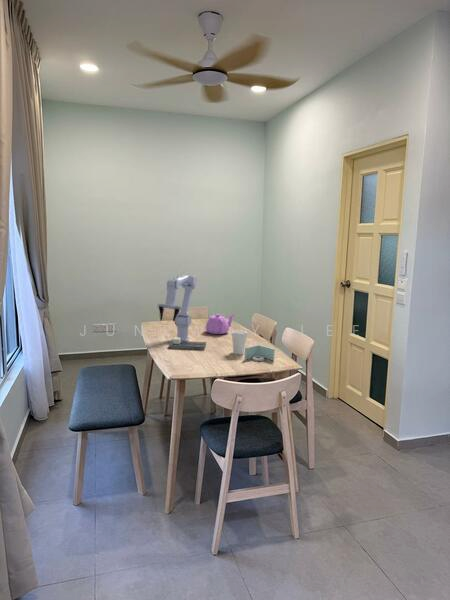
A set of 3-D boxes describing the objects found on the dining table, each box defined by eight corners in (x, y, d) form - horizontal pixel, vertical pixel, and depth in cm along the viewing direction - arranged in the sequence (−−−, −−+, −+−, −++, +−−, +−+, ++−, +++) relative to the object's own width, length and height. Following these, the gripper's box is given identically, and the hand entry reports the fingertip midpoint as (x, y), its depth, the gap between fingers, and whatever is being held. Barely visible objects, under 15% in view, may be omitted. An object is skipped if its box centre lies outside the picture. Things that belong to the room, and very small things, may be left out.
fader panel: (172, 343, 264) (172, 340, 264) (206, 345, 264) (206, 342, 263) (168, 348, 253) (168, 345, 252) (204, 350, 252) (204, 346, 252)
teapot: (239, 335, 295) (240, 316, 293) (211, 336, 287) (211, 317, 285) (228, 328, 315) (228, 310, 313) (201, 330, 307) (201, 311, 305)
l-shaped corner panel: (244, 360, 235) (244, 347, 234) (258, 356, 243) (258, 344, 242) (260, 365, 227) (261, 352, 226) (274, 361, 235) (274, 348, 234)
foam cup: (232, 354, 244) (233, 333, 242) (229, 350, 253) (230, 330, 251) (247, 354, 246) (248, 333, 244) (244, 350, 255) (245, 329, 253)
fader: (174, 341, 261) (174, 337, 260) (180, 342, 260) (180, 337, 260) (173, 343, 256) (173, 339, 255) (179, 344, 256) (179, 339, 255)
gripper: (158, 295, 249) (154, 317, 246) (181, 298, 248) (178, 320, 246) (160, 298, 256) (156, 319, 253) (183, 300, 255) (179, 322, 253)
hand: (167, 320), depth 250 cm, fingers open, 7 cm apart
